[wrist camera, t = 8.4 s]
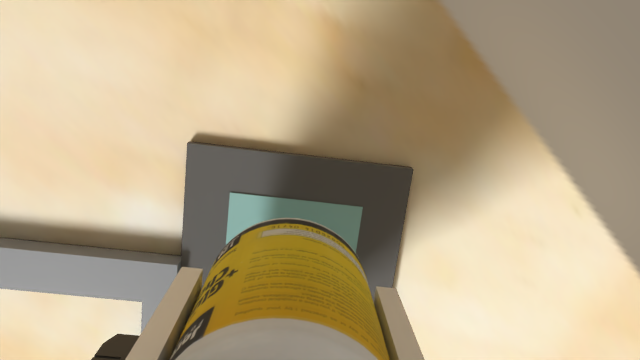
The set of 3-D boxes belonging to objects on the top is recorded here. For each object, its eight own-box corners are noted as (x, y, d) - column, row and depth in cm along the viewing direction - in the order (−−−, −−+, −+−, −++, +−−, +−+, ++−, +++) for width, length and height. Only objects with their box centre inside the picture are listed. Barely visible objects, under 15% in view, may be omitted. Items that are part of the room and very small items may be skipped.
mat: (189, 141, 20) (187, 143, 20) (411, 167, 21) (413, 169, 20) (178, 339, 23) (175, 345, 22) (377, 357, 23) (378, 364, 23)
